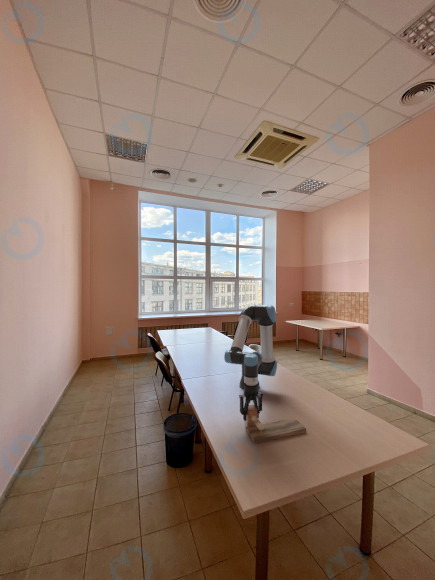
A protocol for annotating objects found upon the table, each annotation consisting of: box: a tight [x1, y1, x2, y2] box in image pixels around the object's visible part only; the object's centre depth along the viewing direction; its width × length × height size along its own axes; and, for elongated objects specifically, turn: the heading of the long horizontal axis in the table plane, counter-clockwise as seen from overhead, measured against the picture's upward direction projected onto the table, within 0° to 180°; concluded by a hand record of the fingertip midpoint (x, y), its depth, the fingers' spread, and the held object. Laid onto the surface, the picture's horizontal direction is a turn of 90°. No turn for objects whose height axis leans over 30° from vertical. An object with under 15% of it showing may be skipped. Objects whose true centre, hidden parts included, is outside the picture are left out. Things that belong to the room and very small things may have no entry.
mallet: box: [247, 404, 264, 434], centre depth 123 cm, size 15×5×10 cm, turn 17°
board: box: [245, 417, 307, 444], centre depth 123 cm, size 10×30×2 cm, turn 107°
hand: (251, 424), depth 128 cm, fingers closed on mallet, 5 cm apart
